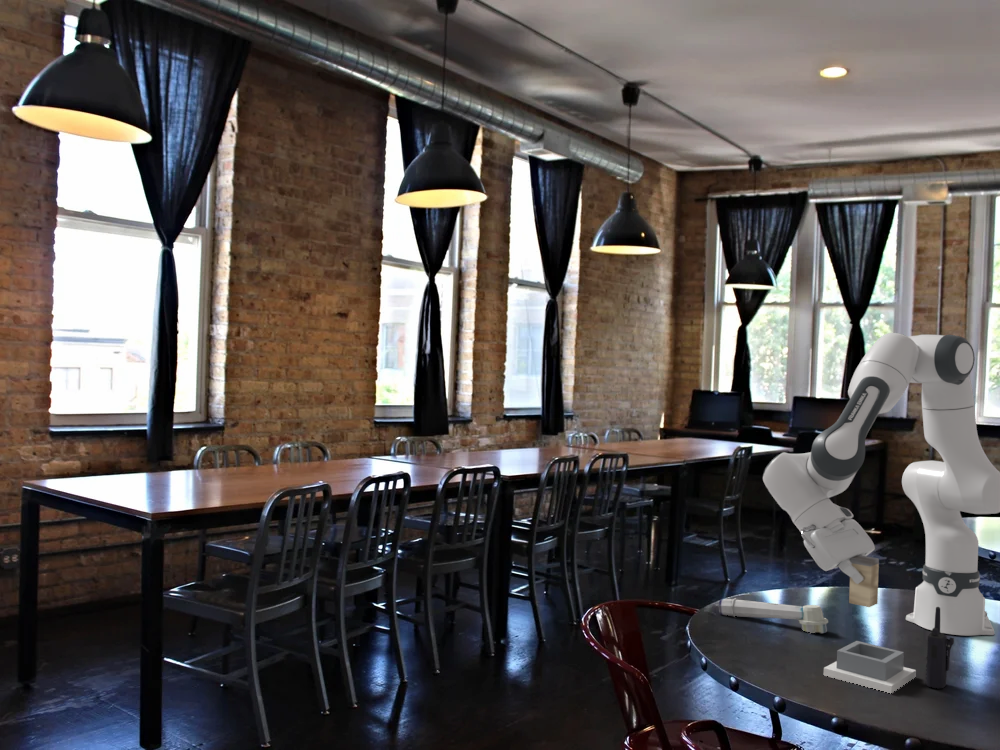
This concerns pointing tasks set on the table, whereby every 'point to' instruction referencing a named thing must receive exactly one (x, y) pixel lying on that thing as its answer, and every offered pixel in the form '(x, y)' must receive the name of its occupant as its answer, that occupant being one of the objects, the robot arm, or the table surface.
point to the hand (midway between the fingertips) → (867, 579)
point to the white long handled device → (777, 612)
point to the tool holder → (870, 667)
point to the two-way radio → (937, 655)
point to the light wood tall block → (865, 581)
